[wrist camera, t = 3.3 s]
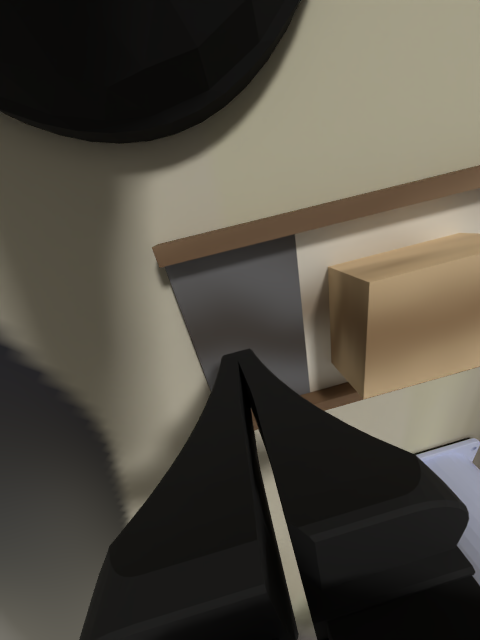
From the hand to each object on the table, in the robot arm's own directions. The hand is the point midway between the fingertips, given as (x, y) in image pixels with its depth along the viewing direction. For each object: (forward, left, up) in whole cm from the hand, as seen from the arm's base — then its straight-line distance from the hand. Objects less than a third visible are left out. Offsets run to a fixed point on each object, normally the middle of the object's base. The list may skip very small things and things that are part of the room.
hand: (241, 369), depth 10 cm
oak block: (0, -9, -2) cm, 9 cm away
